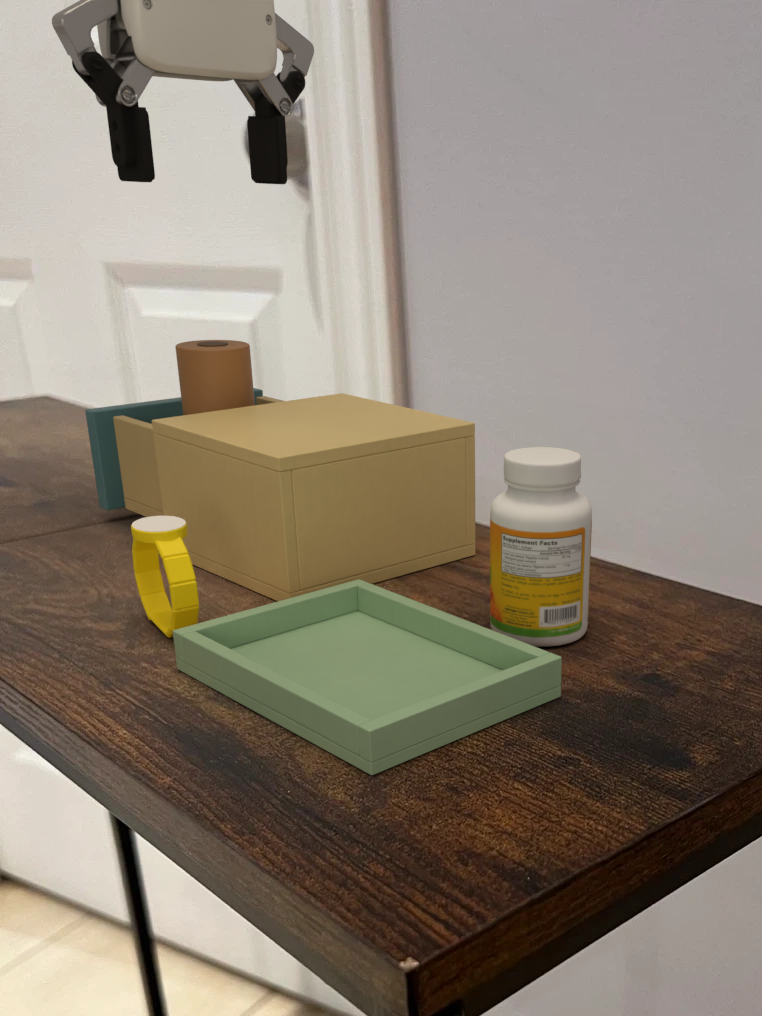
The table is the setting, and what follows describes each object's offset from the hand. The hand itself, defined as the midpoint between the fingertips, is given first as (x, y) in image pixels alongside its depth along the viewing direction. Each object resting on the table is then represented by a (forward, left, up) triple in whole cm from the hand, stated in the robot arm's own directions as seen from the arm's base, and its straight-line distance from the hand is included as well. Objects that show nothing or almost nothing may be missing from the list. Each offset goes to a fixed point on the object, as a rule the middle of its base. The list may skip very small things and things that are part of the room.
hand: (206, 182), depth 73 cm
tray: (+15, -28, -22) cm, 39 cm away
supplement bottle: (+23, -20, -22) cm, 38 cm away
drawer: (-2, 0, -21) cm, 21 cm away
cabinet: (+8, -8, -22) cm, 25 cm away
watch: (+3, -22, -22) cm, 31 cm away
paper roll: (0, -1, -20) cm, 20 cm away
